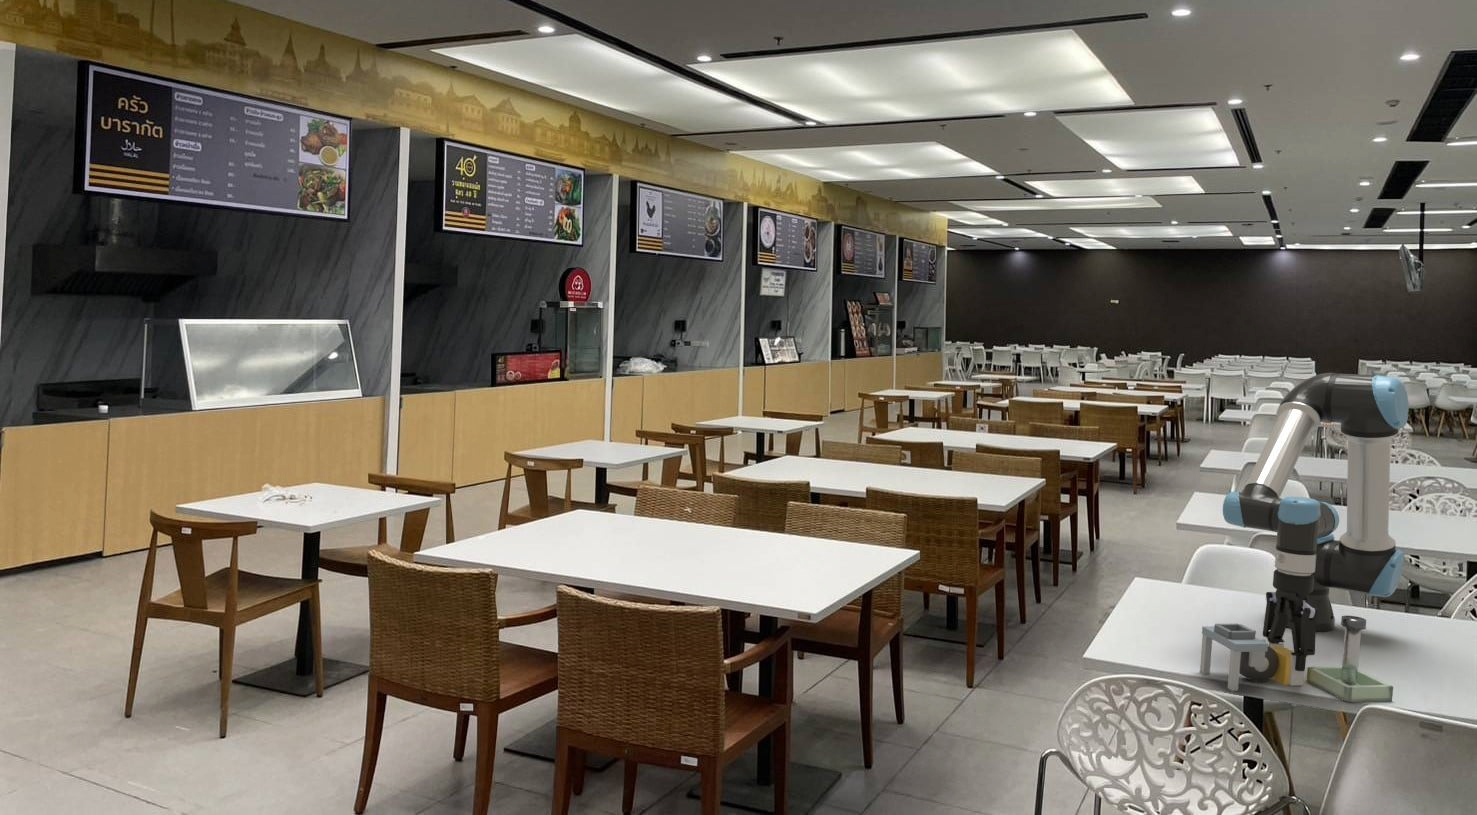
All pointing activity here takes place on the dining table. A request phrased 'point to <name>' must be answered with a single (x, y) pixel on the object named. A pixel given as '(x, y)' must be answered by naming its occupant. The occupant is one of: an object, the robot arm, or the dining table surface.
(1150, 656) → the dining table surface
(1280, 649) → the block
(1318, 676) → the tray
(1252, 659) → the cart
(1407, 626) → the dining table surface
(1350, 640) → the pin
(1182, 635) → the dining table surface
